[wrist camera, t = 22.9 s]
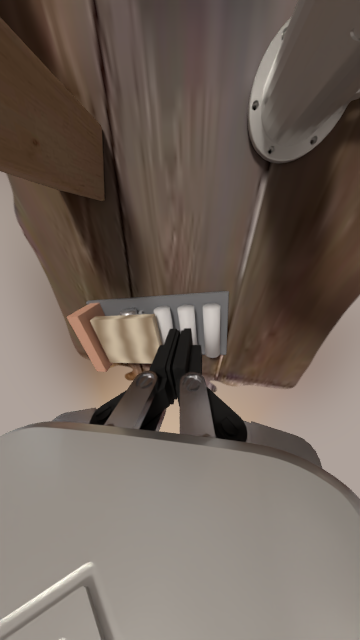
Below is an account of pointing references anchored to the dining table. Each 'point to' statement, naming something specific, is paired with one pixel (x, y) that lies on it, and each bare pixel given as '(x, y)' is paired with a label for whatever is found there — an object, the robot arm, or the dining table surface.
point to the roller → (129, 311)
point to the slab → (128, 337)
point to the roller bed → (174, 304)
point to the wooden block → (45, 125)
